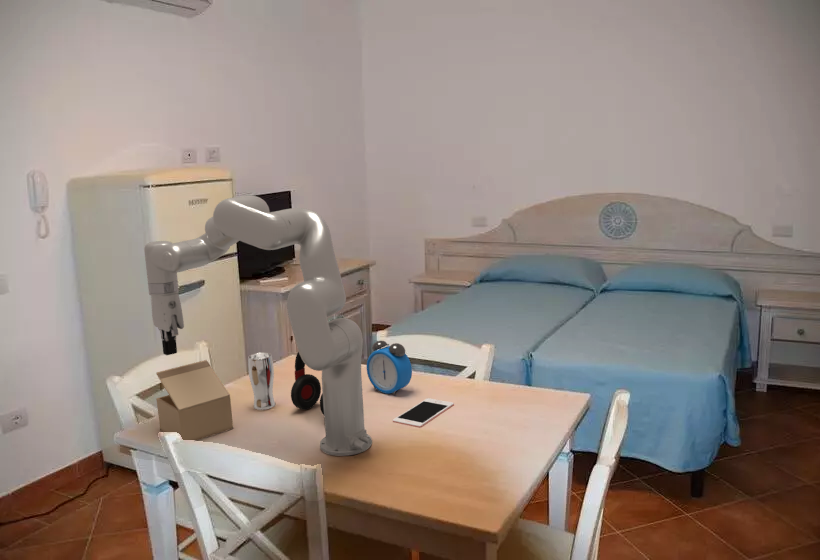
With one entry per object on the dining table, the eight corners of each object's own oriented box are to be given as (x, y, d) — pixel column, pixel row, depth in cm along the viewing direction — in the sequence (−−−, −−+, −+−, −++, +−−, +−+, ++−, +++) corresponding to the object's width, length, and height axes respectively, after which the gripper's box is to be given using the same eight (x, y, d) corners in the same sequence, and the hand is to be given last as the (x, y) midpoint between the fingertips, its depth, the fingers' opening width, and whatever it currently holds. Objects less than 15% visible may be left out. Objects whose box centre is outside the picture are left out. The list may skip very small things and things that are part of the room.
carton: (233, 428, 183) (230, 396, 181) (182, 445, 174) (178, 411, 172) (209, 414, 193) (205, 384, 192) (160, 430, 184) (156, 398, 183)
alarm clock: (367, 390, 207) (364, 341, 204) (380, 384, 212) (377, 336, 209) (400, 398, 199) (398, 348, 196) (414, 391, 204) (411, 342, 201)
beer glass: (279, 401, 201) (275, 351, 198) (272, 410, 194) (268, 359, 192) (256, 401, 202) (251, 352, 199) (248, 410, 195) (243, 359, 192)
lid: (229, 396, 181) (230, 394, 181) (179, 411, 172) (179, 409, 172) (206, 361, 189) (206, 359, 189) (156, 374, 180) (156, 372, 180)
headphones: (287, 412, 193) (281, 342, 189) (314, 401, 200) (309, 334, 196) (329, 426, 181) (324, 353, 178) (356, 414, 189) (352, 344, 185)
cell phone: (454, 405, 193) (454, 402, 192) (420, 429, 178) (420, 425, 178) (427, 400, 197) (427, 397, 197) (391, 423, 183) (391, 419, 183)
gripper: (189, 289, 182) (195, 356, 185) (165, 281, 193) (172, 345, 196) (161, 294, 177) (168, 362, 181) (138, 286, 188) (146, 351, 192)
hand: (170, 353), depth 188 cm, fingers closed
